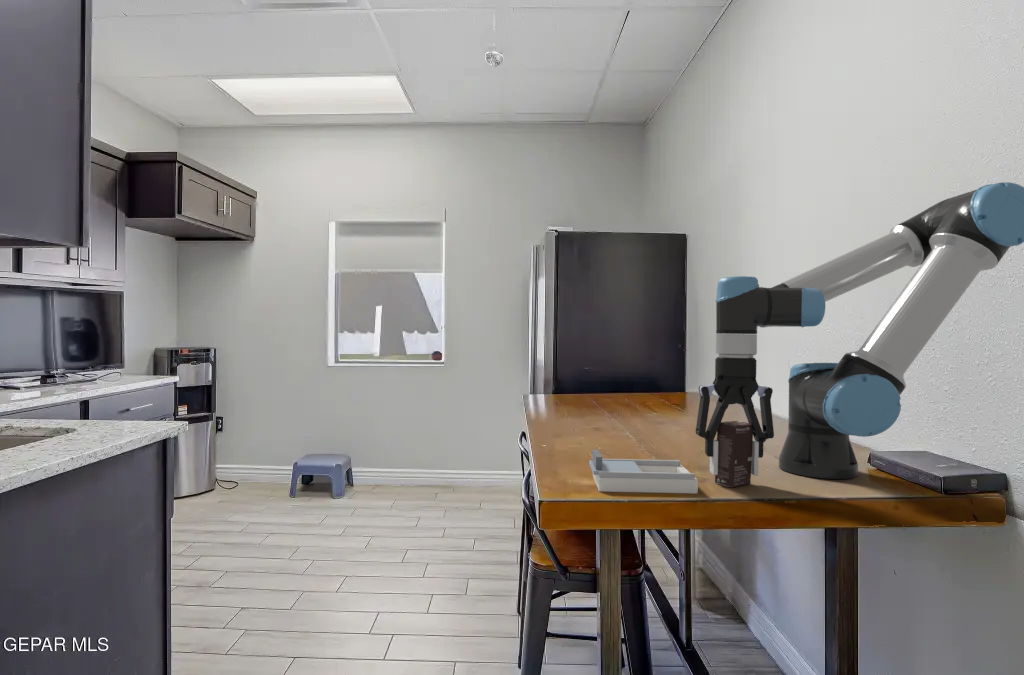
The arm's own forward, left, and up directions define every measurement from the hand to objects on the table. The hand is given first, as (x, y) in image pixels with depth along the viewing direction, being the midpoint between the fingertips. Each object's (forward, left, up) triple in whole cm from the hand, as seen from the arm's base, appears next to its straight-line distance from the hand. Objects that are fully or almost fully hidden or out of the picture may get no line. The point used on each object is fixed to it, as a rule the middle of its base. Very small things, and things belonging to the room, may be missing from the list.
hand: (733, 473), depth 115 cm
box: (0, 0, -2) cm, 2 cm away
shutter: (+23, +2, +1) cm, 23 cm away
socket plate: (+18, +1, -2) cm, 18 cm away
